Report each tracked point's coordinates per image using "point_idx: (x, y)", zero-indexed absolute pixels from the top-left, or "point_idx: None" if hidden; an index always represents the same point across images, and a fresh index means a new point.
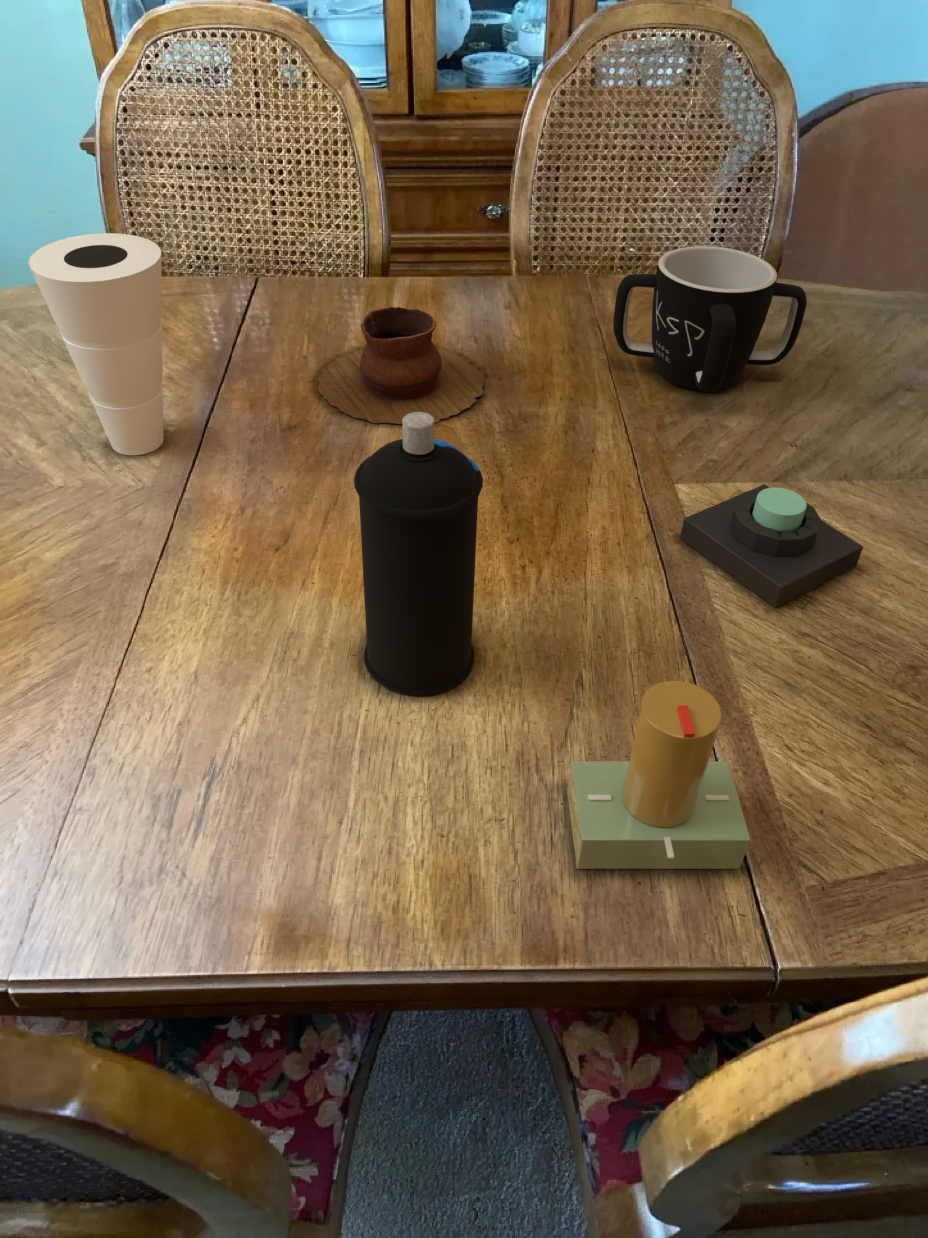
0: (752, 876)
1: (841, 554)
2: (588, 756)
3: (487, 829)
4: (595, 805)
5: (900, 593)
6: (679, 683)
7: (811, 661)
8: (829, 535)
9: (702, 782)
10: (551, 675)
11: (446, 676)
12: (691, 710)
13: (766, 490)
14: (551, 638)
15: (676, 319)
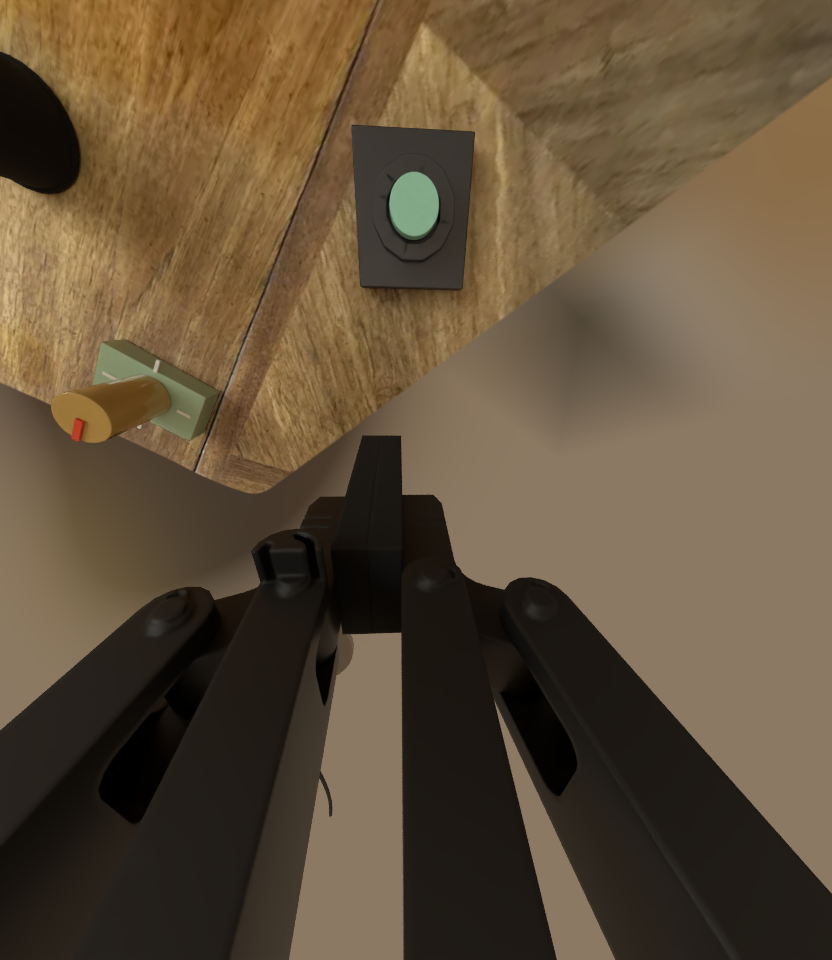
0: (208, 437)
1: (437, 285)
2: (149, 323)
3: (62, 334)
4: (106, 378)
5: (458, 335)
6: (88, 401)
7: (345, 347)
8: (451, 257)
9: (182, 400)
10: (147, 235)
11: (32, 185)
12: (88, 423)
13: (415, 175)
14: (162, 192)
15: None
